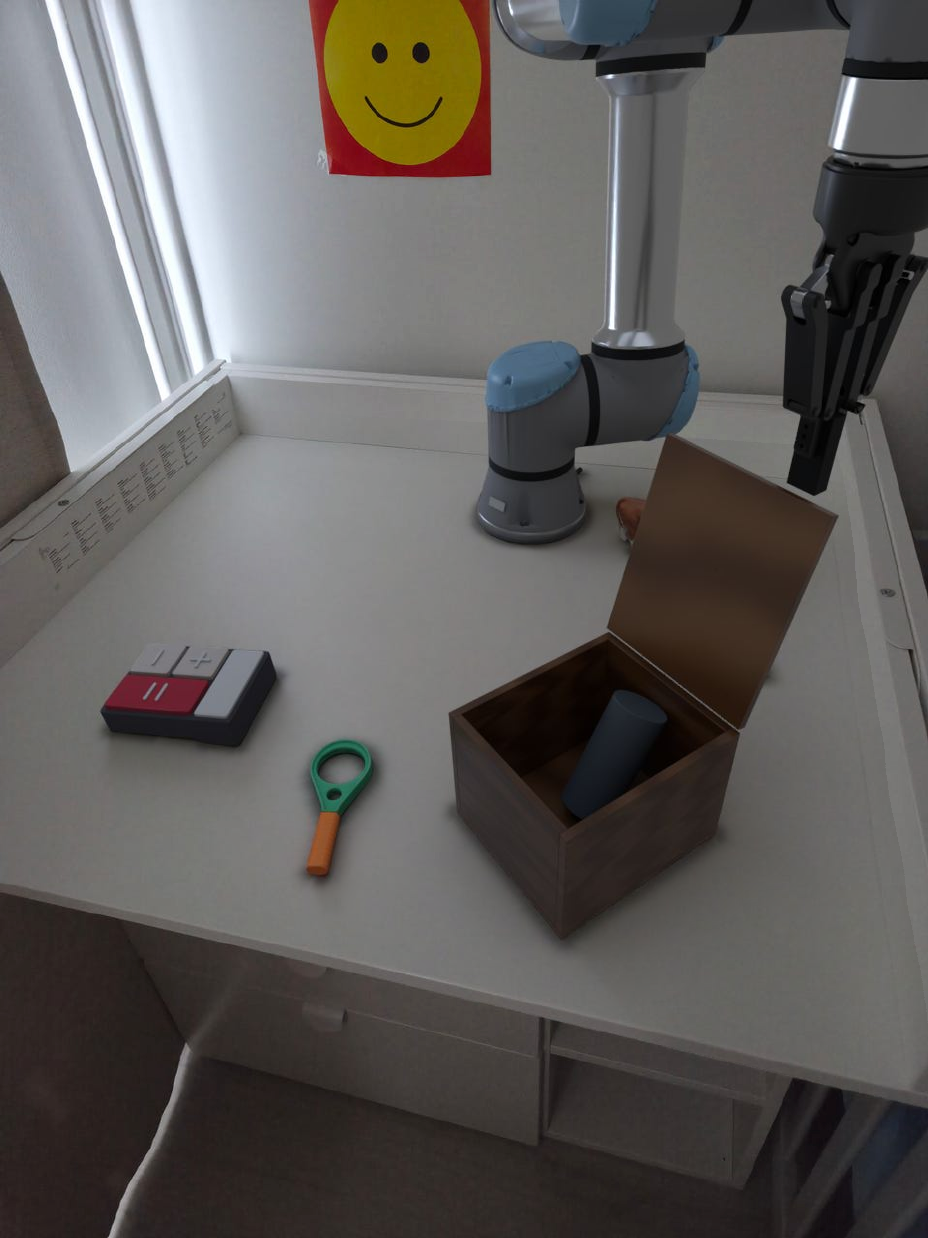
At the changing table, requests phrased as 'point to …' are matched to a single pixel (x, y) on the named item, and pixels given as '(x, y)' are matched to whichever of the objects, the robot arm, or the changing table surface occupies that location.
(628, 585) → the chest lid
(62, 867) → the changing table surface
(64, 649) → the changing table surface
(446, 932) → the changing table surface
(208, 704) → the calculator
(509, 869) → the chest
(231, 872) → the changing table surface
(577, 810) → the canister
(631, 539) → the bull figurine
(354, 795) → the magnifying glass
